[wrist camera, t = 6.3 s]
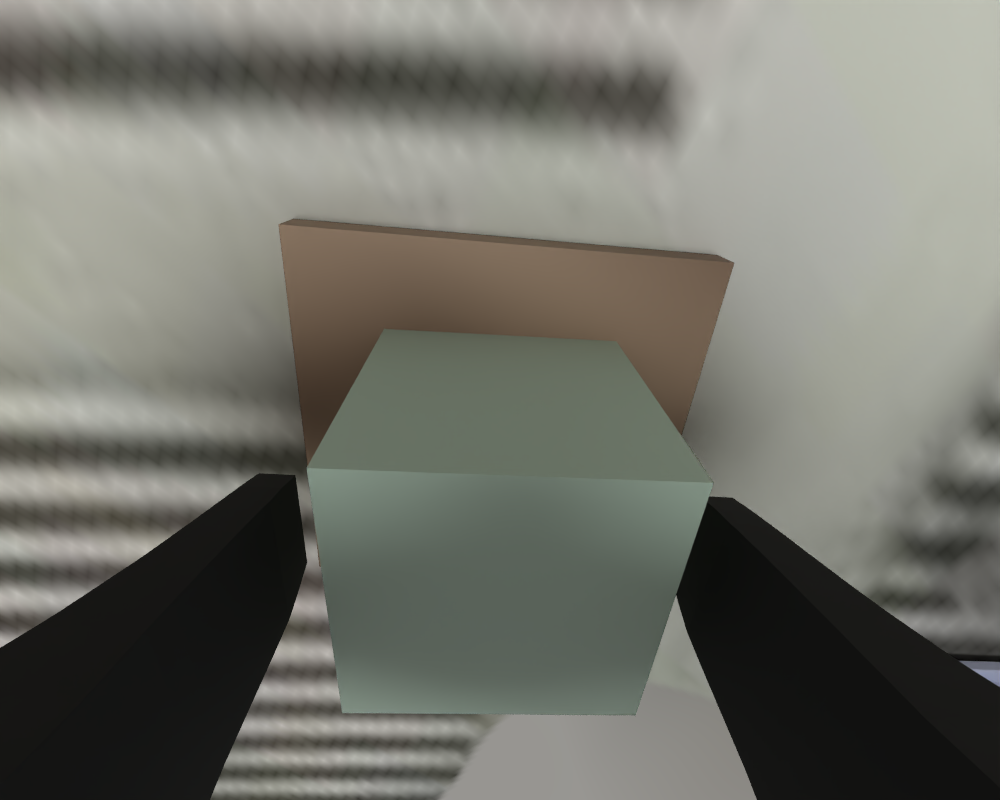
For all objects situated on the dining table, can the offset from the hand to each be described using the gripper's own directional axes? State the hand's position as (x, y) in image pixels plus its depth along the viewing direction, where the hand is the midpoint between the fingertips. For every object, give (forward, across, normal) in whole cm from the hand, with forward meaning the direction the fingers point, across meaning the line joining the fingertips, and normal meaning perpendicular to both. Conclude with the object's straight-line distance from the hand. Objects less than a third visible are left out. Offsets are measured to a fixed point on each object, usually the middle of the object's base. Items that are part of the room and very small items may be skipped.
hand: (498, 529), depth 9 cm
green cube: (+3, 0, 0) cm, 3 cm away
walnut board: (+4, 0, 0) cm, 4 cm away
